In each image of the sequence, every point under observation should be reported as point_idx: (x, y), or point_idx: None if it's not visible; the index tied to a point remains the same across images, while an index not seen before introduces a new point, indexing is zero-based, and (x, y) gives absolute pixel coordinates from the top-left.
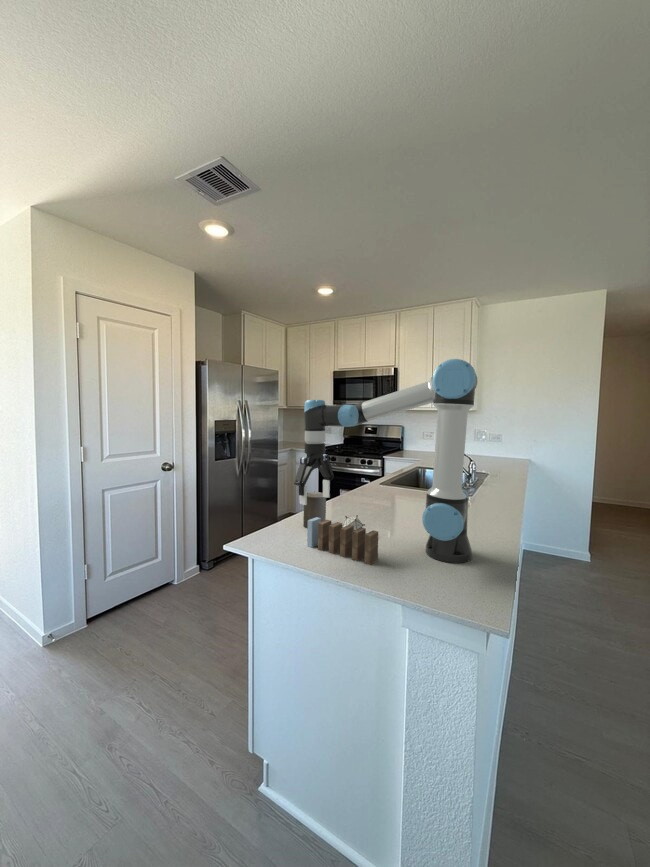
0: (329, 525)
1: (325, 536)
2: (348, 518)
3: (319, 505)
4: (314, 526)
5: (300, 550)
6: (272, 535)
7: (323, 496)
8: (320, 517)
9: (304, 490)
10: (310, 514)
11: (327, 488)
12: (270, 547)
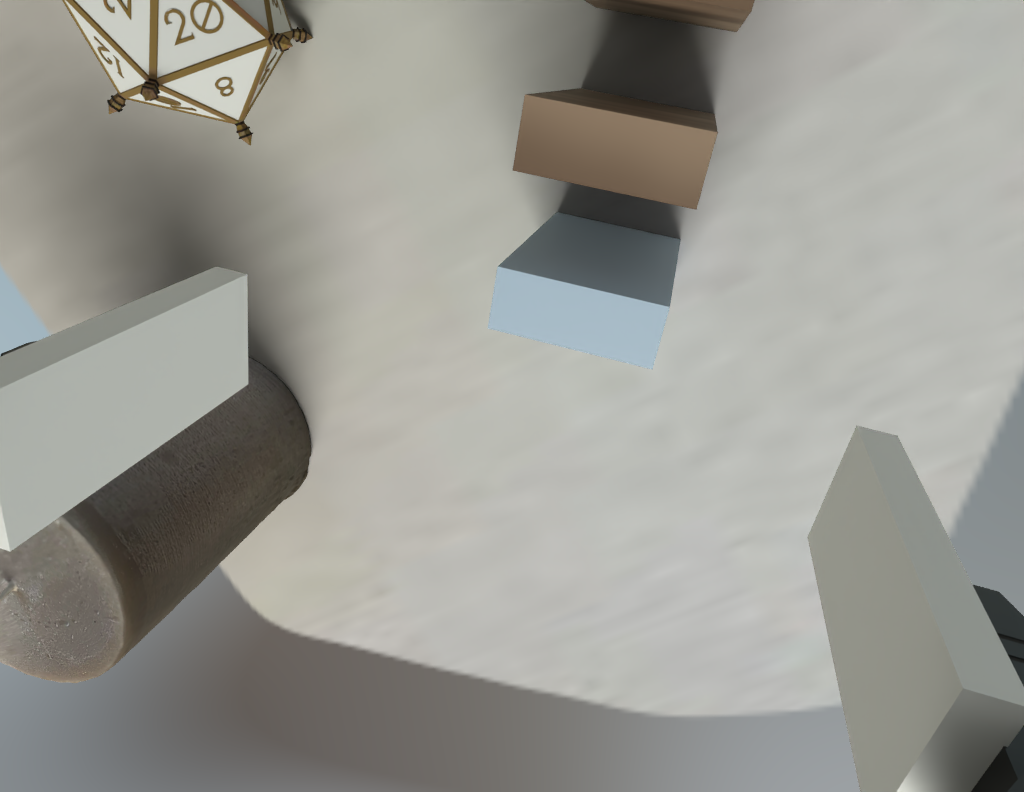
0: (743, 7)
1: (661, 110)
2: (158, 53)
3: None
4: (624, 276)
5: (780, 298)
6: (571, 609)
7: (243, 375)
8: None
9: (976, 640)
10: (241, 486)
11: (135, 352)
12: (807, 531)
